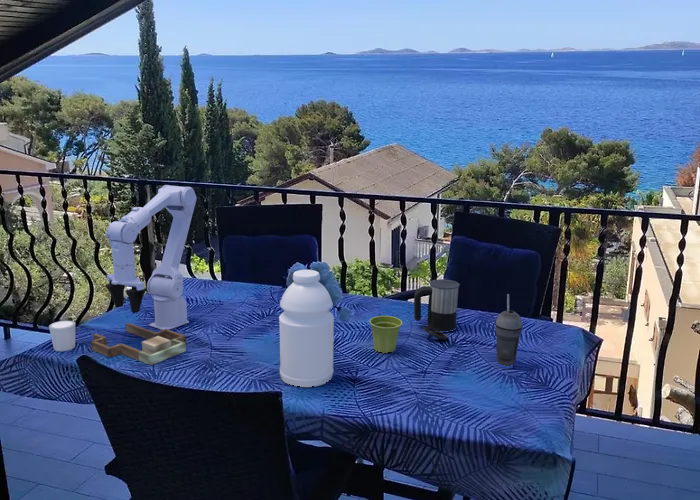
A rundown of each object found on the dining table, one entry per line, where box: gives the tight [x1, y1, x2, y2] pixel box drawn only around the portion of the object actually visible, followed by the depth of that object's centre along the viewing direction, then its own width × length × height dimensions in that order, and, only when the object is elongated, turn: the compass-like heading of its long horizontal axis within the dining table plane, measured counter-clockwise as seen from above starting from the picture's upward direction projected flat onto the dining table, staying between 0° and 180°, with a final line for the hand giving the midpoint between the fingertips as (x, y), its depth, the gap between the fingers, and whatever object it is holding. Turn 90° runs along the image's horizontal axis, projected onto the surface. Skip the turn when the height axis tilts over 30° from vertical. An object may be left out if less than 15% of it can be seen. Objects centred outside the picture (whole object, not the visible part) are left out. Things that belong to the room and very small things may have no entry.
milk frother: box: [413, 278, 461, 341], centre depth 192 cm, size 14×16×15 cm
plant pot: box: [369, 315, 403, 354], centre depth 179 cm, size 9×9×9 cm
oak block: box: [141, 336, 172, 354], centre depth 175 cm, size 6×6×4 cm
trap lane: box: [89, 322, 187, 366], centre depth 179 cm, size 19×26×2 cm
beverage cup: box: [494, 293, 524, 366], centre depth 168 cm, size 7×7×20 cm
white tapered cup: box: [48, 320, 76, 352], centre depth 178 cm, size 7×7×7 cm
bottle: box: [278, 269, 335, 388], centre depth 159 cm, size 14×14×28 cm
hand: (127, 309), depth 180 cm, fingers open, 7 cm apart
